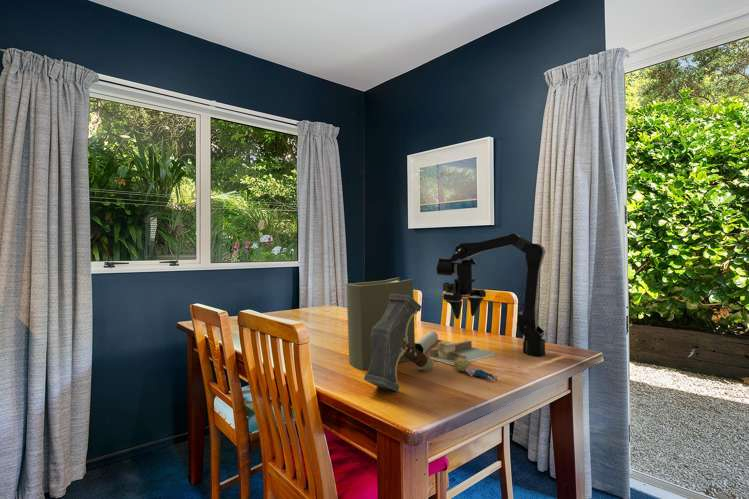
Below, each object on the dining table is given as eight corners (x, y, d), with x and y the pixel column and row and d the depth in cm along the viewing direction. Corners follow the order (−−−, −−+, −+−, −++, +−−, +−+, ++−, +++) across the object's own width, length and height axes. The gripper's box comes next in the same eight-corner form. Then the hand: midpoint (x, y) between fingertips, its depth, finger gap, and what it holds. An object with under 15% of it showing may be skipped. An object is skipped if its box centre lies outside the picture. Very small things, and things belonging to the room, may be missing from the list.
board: (499, 356, 147) (499, 346, 147) (457, 367, 134) (457, 357, 134) (468, 348, 158) (468, 339, 158) (426, 358, 145) (426, 349, 145)
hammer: (428, 339, 140) (389, 285, 122) (451, 344, 134) (414, 289, 116) (394, 413, 127) (346, 366, 109) (419, 423, 122) (372, 374, 103)
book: (360, 372, 132) (357, 284, 131) (347, 365, 140) (344, 282, 139) (415, 360, 143) (412, 279, 142) (400, 354, 151) (397, 277, 150)
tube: (425, 331, 172) (407, 344, 149) (437, 328, 170) (421, 341, 147) (429, 344, 171) (412, 359, 148) (441, 340, 170) (426, 355, 146)
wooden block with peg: (468, 361, 138) (468, 346, 138) (460, 363, 135) (460, 348, 135) (446, 355, 146) (446, 341, 146) (438, 357, 143) (438, 342, 143)
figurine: (500, 383, 122) (461, 368, 134) (501, 368, 122) (462, 354, 134) (487, 387, 119) (448, 371, 131) (488, 372, 118) (449, 357, 130)
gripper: (463, 273, 170) (463, 312, 170) (432, 276, 158) (432, 317, 158) (486, 275, 161) (486, 315, 161) (454, 278, 149) (455, 321, 149)
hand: (465, 317), depth 158 cm, fingers open, 9 cm apart
